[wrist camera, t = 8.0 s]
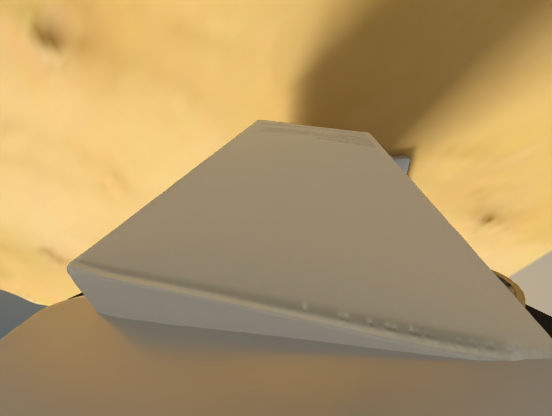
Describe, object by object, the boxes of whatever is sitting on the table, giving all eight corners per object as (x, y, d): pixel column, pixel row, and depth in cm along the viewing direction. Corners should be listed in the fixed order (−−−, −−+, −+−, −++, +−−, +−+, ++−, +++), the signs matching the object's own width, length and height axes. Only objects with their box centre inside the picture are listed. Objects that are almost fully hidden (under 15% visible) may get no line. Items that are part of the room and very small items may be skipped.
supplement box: (255, 116, 14) (35, 254, 3) (373, 131, 13) (629, 380, 2) (252, 210, 18) (154, 413, 7) (342, 226, 17) (382, 476, 6)
